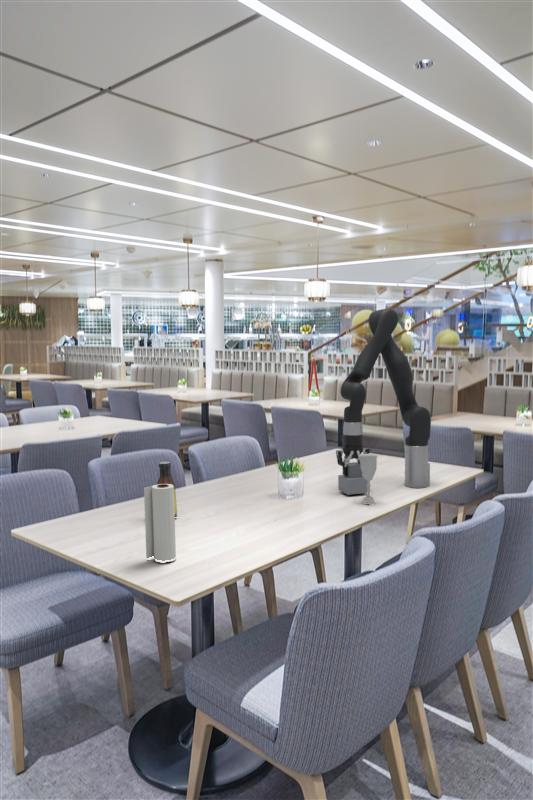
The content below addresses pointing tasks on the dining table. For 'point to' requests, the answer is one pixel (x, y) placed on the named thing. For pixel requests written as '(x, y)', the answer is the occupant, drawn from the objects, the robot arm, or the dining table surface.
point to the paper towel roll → (160, 521)
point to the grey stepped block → (352, 480)
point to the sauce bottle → (167, 479)
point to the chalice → (368, 473)
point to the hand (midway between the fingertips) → (352, 475)
